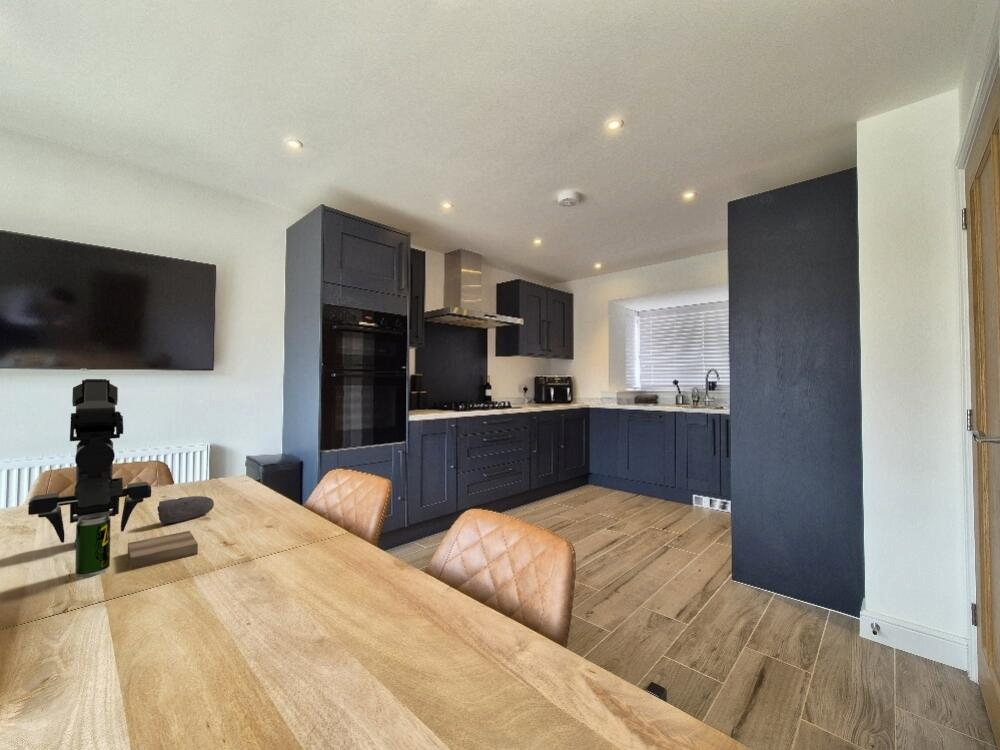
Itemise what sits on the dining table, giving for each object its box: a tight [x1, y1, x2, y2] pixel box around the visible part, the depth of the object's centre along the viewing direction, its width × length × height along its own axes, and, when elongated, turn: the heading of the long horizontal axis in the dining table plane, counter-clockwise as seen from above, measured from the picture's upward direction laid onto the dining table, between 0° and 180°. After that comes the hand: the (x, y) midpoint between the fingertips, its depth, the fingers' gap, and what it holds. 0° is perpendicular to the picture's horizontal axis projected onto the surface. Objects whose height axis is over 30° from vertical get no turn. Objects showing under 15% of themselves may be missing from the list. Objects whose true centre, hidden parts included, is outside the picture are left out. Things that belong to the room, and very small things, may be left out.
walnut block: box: [127, 530, 199, 570], centre depth 100 cm, size 12×12×2 cm
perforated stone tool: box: [156, 495, 215, 525], centre depth 125 cm, size 15×5×7 cm, turn 147°
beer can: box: [74, 513, 112, 578], centre depth 90 cm, size 5×5×12 cm
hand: (93, 536), depth 90 cm, fingers open, 9 cm apart
